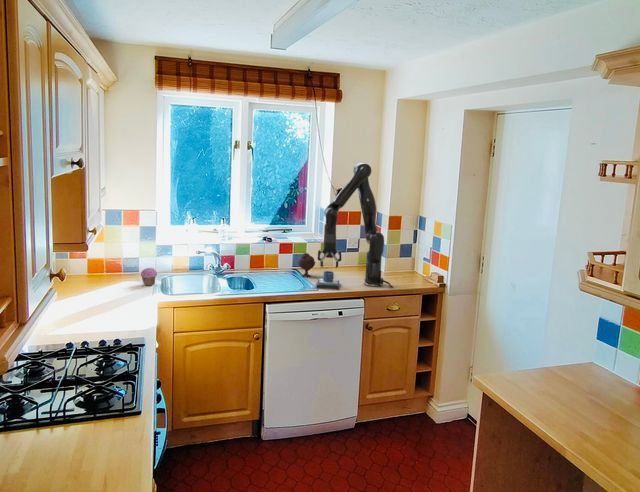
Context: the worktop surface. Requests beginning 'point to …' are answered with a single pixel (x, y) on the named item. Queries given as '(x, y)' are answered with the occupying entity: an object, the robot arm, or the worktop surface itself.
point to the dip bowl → (328, 276)
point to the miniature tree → (306, 263)
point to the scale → (328, 284)
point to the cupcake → (148, 276)
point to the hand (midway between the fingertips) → (329, 267)
